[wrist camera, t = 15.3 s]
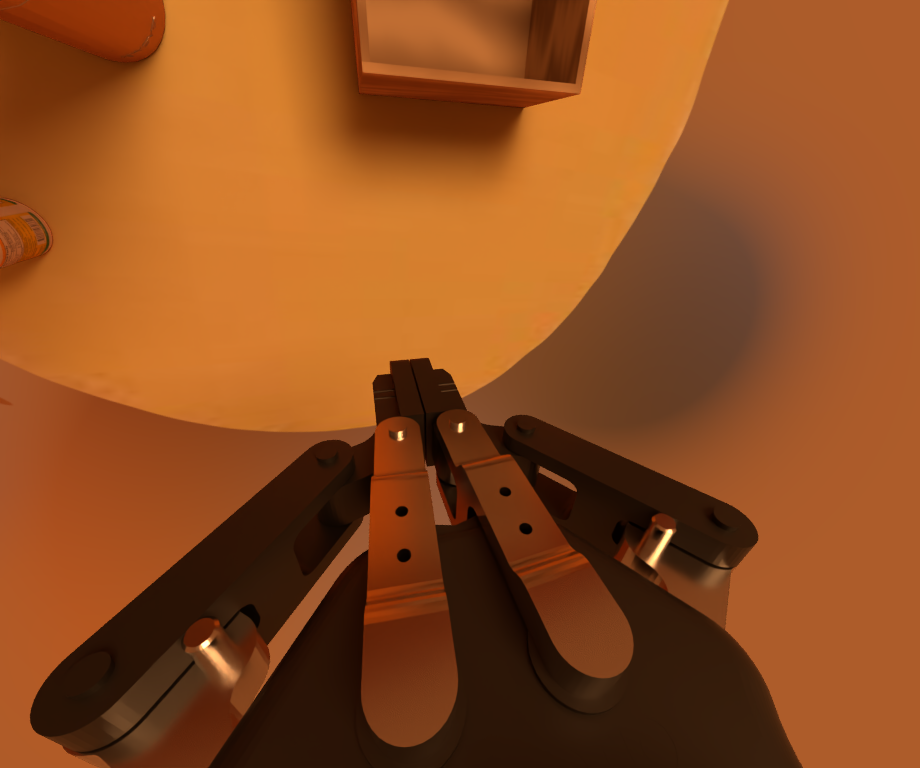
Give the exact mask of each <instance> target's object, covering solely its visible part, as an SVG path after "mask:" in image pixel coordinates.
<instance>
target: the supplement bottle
mask: <svg viewBox="0 0 920 768" xmlns="http://www.w3.org/2000/svg"><path fill="white" fill-rule="evenodd" d="M52 241H53V239H52V234H51V230H50V228H49V227H48V225H47V223H46V222H45V221H44V220H43V219H42V218H41V217H40V216H39V215H38V214H37V213H36V212H35V211H33V210H32V209H30V208H29V207H27V206H25V205H23V204H21V203H19V202H17V201H14V200H10V199H5V198H0V268H3V267H6V266H9V265H12V264H15V263H18V262H21V261H24V260H27V259H30V258H33V257H36V256H39V255H42V254H44V253H46V252H47V251H48V250H49V249H50V247H51V245H52Z"/></svg>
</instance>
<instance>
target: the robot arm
mask: <svg viewBox="0 0 920 768" xmlns="http://www.w3.org/2000/svg"><path fill="white" fill-rule="evenodd" d="M0 19H1V20H4V21H6V22H9V23H12V24H14V25H17V26H20V27H22V28H25V29H28V30H30V31H33V32H35V33H38V34H41V35H43V36H46V37H49V38H51V39H54V40H57V41H59V42H62V43H65V44H67V45H70V46H72V47H75V48H78V49H80V50H83V51H86V52H88V53H91V54H94V55H97V56H99V57H102V58H105V59H108V60H111V61H117V62H124V63H125V62H137V61H139V60H142V59H144V58H147V57H148V56H149V55H151V54H152V53H153V52H154V51H155V50H156V49H157V47H158V45H159V44H160V42H161V40H162V36H163V32H164V28H165V11H164V5H163V0H0ZM373 393H374V403H375V413H376V423H377V427H376V430H375V433H374V434H373V436H371V437H370V438H369V439H368V440H366V441H365V442H363V443H361V444H358V445H356V446H353V447H351V446H350V445H349V444H347V443H346V442H343V441H340V440H327V441H323V442H320V443H318V444H315V445H314V446H312V447H311V448H309V449H308V450H307V451H306V452H304V453H303V454H302V455H301V456H300V457H299V458H298V459H296V460H295V461H294V462H293V463H292V464H291V465H290V466H288V467H287V468H286V469H285V470H284V471H282V472H281V473H280V474H279V475H278V476H277V477H275V478H274V479H273V480H272V481H271V482H270V483H268V484H267V485H266V486H265V487H264V488H263V489H262V490H260V491H259V492H258V493H257V494H256V495H255V496H253V497H252V498H251V499H250V500H249V501H248V502H246V503H245V504H244V505H243V506H242V507H241V508H239V509H238V510H237V511H236V512H235V513H234V514H233V515H231V516H230V517H229V518H228V519H227V520H226V521H224V522H223V523H222V524H221V525H220V526H219V527H218V528H216V529H215V530H214V531H213V532H212V533H210V534H209V535H208V536H207V537H206V538H205V539H203V540H202V541H201V542H200V543H199V544H198V545H197V546H195V547H194V548H193V549H192V550H191V551H190V552H188V553H187V554H186V555H185V556H184V557H183V558H181V559H180V560H179V561H178V562H177V563H176V564H174V565H173V566H172V567H171V568H170V569H169V570H168V571H166V572H165V573H164V574H163V575H162V576H161V577H159V578H158V579H157V580H156V581H155V582H154V583H152V584H151V585H150V586H149V587H148V588H147V589H145V590H144V591H143V592H142V593H141V594H140V595H139V596H138V597H136V598H135V599H134V600H133V601H132V602H130V603H129V604H128V605H127V606H126V607H125V608H123V609H122V610H121V611H120V612H119V613H118V614H117V615H115V616H114V617H113V618H112V619H111V620H109V621H108V622H107V623H106V624H105V625H104V626H103V627H101V628H100V629H99V630H98V631H97V632H96V633H94V634H93V635H92V636H91V637H90V638H89V639H87V640H86V641H85V642H84V643H83V644H82V645H80V646H79V647H78V648H77V649H76V650H75V651H74V652H72V653H71V654H70V655H69V656H68V657H67V658H66V659H64V660H63V661H62V662H61V663H60V664H59V665H58V666H57V667H56V669H55V670H54V671H53V672H52V673H51V674H50V676H49V677H48V678H47V679H46V680H45V682H44V683H43V685H42V686H41V688H40V690H39V691H38V693H37V695H36V697H35V699H34V702H33V705H32V708H31V713H30V722H31V725H32V728H33V730H34V731H35V732H36V733H38V734H40V735H42V736H44V737H46V738H48V739H50V740H52V741H54V742H56V743H58V744H60V745H62V746H63V748H64V750H65V751H66V752H67V753H69V754H71V755H73V756H75V757H78V758H80V759H82V760H84V761H86V762H88V763H90V764H92V765H94V766H97V767H99V768H803V767H802V765H801V763H800V762H799V760H798V758H797V756H796V755H795V752H794V750H793V748H792V746H791V744H790V742H789V740H788V738H787V736H786V733H785V731H784V729H783V727H782V724H781V722H780V719H779V717H778V714H777V711H776V708H775V705H774V703H773V700H772V697H771V695H770V692H769V690H768V688H767V686H766V683H765V682H764V679H763V678H762V675H761V674H760V672H759V671H758V669H757V667H756V666H755V664H754V663H753V661H752V660H751V659H750V657H749V656H748V655H747V653H746V652H745V651H744V649H743V648H742V647H741V646H740V645H739V644H738V643H737V642H736V640H735V639H734V638H733V637H732V636H731V635H730V634H728V632H726V631H725V625H726V615H727V605H728V595H729V586H730V575H731V573H732V571H733V570H734V569H735V567H737V565H738V564H739V563H740V562H741V561H742V560H743V558H744V557H745V556H746V555H747V554H748V552H749V551H750V550H751V549H752V548H753V546H754V545H755V544H756V543H757V541H758V533H757V530H756V528H755V526H754V525H753V523H752V522H751V521H750V520H749V519H748V518H747V517H746V516H745V515H744V514H743V513H742V512H740V511H739V510H738V509H736V508H734V507H733V506H731V505H729V504H727V503H724V502H722V501H720V500H718V499H716V498H713V497H711V496H709V495H707V494H704V493H702V492H700V491H698V490H696V489H693V488H691V487H689V486H687V485H684V484H682V483H680V482H678V481H675V480H673V479H671V478H669V477H666V476H664V475H662V474H660V473H657V472H655V471H653V470H651V469H649V468H646V467H644V466H642V465H640V464H637V463H635V462H633V461H631V460H628V459H626V458H624V457H622V456H620V455H617V454H615V453H613V452H611V451H608V450H606V449H604V448H602V447H599V446H597V445H595V444H593V443H590V442H588V441H586V440H583V439H581V438H579V437H577V436H575V435H573V434H570V433H568V432H566V431H564V430H561V429H559V428H557V427H554V426H553V425H550V424H548V423H546V422H543V421H541V420H539V419H537V418H534V417H532V416H527V415H516V416H512V417H510V418H509V419H507V421H506V422H505V424H504V427H502V426H491V425H486V424H482V423H480V421H479V420H478V418H477V417H476V416H475V415H474V414H473V413H471V412H469V411H467V409H466V407H465V405H464V403H463V401H462V398H461V396H460V394H459V392H458V390H457V387H456V385H455V384H454V381H453V379H452V376H451V375H450V374H449V373H448V372H446V371H445V370H444V369H435V370H433V368H432V366H431V363H430V360H429V358H420V359H410V361H409V360H398V361H390V374H384V375H377V377H376V378H375V380H374V382H373ZM425 460H426V464H427V466H433V465H435V468H436V483H437V486H438V489H439V492H440V495H441V497H442V500H443V503H444V506H445V508H446V511H447V514H448V517H449V519H450V522H451V525H435V521H434V513H433V506H432V499H431V492H430V485H429V479H428V472H427V470H426V469H425ZM540 466H542V467H543V468H545V469H547V470H549V471H551V472H553V473H555V474H557V475H559V476H561V477H563V478H565V479H567V480H568V481H570V482H571V483H572V484H573V485H574V486H575V487H576V489H577V492H575V491H573V490H571V489H569V488H567V487H565V486H563V485H561V484H560V483H558V482H556V481H554V480H552V479H550V478H548V477H546V476H545V475H543V474H541V473H539V468H540ZM369 513H370V524H369V549H368V550H367V551H365V552H364V553H362V554H361V555H360V556H358V557H357V558H356V559H355V560H354V561H352V562H351V563H350V564H349V566H347V567H346V568H345V570H344V571H343V572H342V573H341V574H340V576H339V577H338V578H337V580H336V581H335V582H334V584H333V585H332V587H331V588H330V590H329V591H328V593H327V594H326V596H325V597H324V599H323V600H322V601H321V603H320V604H319V606H318V607H317V609H316V610H315V612H314V613H313V615H312V616H311V618H310V619H309V621H308V622H307V623H306V625H305V626H304V628H303V630H302V631H301V632H300V634H299V635H298V637H297V638H296V640H295V641H294V643H293V644H292V645H291V647H290V649H289V650H288V651H287V653H286V654H285V656H284V657H283V659H282V660H281V662H280V663H279V664H278V666H277V667H276V669H275V671H274V672H273V673H272V675H271V676H270V678H269V679H268V681H267V682H266V684H265V685H264V686H263V688H262V690H261V691H260V693H259V694H258V695H257V697H256V698H255V695H256V694H257V692H258V690H259V689H260V687H261V685H262V684H263V682H264V680H265V677H266V675H267V672H268V669H269V664H270V653H269V649H268V647H267V645H268V644H269V642H270V641H271V640H272V639H273V637H274V636H275V635H276V634H277V632H278V631H279V630H280V628H281V627H282V626H283V624H284V623H285V622H286V620H287V619H288V618H289V616H290V615H291V614H292V613H293V611H294V610H295V609H296V608H297V606H298V605H299V604H300V603H301V601H302V600H303V599H304V597H305V596H306V595H307V593H308V592H309V591H310V590H311V588H312V587H313V586H314V584H315V583H316V582H317V580H318V579H319V578H320V577H321V575H322V574H323V573H324V571H325V570H326V569H327V567H328V566H329V565H330V564H331V562H332V561H333V560H334V558H335V557H336V556H337V555H338V553H339V552H340V551H341V549H342V548H343V547H344V545H345V544H346V543H347V542H348V540H349V539H350V538H351V536H352V535H353V534H354V532H355V531H356V530H357V529H358V527H359V526H360V525H361V523H362V521H363V517H364V516H365V515H367V514H369ZM254 698H255V700H254ZM253 700H254V701H253ZM252 702H253V703H252Z"/></svg>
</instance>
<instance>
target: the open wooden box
mask: <svg viewBox="0 0 920 768" xmlns="http://www.w3.org/2000/svg"><path fill="white" fill-rule="evenodd" d="M596 2H597V0H351V10H352V21H353V32H354V43H355V54H356V65H357V76H358V88H359V94H368V95H380V96H391V97H403V98H415V99H427V100H438V101H450V102H462V103H474V104H485V105H497V106H509V107H521V108H525V107H529V106H533V105H537V104H541V103H545V102H549V101H553V100H558V99H562V98H566V97H570V96H574V95H578V94H580V93H581V87H582V81H583V76H584V70H585V64H586V59H587V53H588V47H589V41H590V36H591V30H592V24H593V19H594V13H595V7H596Z"/></svg>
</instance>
